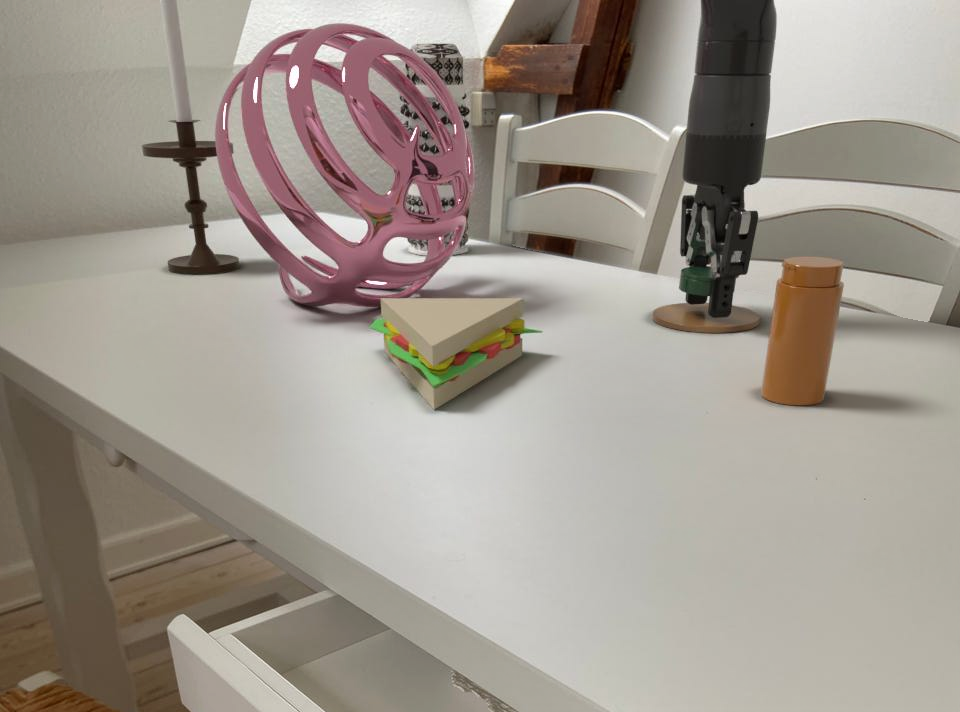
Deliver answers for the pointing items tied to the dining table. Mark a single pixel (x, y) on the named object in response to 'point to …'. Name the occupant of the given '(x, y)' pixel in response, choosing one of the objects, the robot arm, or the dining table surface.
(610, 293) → the dining table surface
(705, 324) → the coaster
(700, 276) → the lid
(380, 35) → the spiral basket
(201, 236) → the candlestick
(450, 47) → the decorative candle
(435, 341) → the sandwich
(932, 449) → the dining table surface
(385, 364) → the dining table surface
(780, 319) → the jar
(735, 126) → the robot arm
